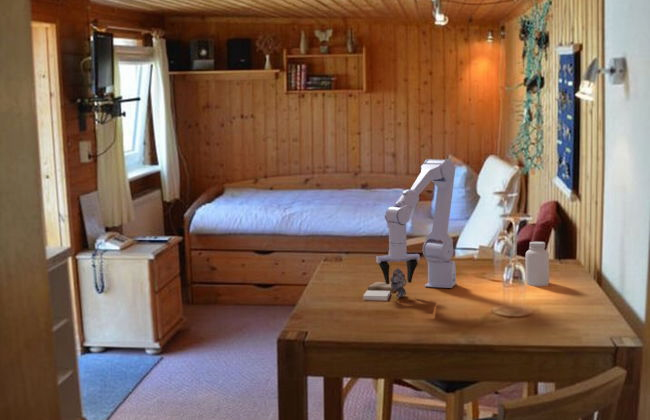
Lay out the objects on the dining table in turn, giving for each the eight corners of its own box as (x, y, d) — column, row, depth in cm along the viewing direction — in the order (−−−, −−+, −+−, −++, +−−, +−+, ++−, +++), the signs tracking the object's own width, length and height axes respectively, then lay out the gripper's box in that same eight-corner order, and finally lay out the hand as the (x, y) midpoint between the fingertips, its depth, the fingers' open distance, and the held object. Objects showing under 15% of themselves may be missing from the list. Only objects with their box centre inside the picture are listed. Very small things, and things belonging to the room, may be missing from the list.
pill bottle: (546, 282, 281) (546, 240, 280) (550, 287, 274) (551, 244, 272) (523, 282, 282) (523, 240, 281) (527, 287, 274) (527, 244, 273)
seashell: (406, 299, 262) (405, 269, 261) (389, 299, 263) (389, 269, 262) (407, 295, 267) (407, 266, 266) (391, 295, 268) (391, 266, 267)
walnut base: (400, 288, 279) (400, 282, 278) (392, 294, 270) (392, 287, 270) (376, 287, 282) (376, 281, 282) (367, 292, 274) (367, 286, 274)
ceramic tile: (390, 295, 269) (390, 290, 269) (387, 300, 261) (387, 296, 261) (367, 294, 270) (367, 290, 270) (363, 300, 263) (363, 295, 262)
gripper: (415, 239, 268) (415, 279, 270) (373, 241, 265) (374, 281, 267) (421, 242, 261) (422, 283, 263) (378, 245, 258) (379, 286, 260)
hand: (398, 282), depth 264 cm, fingers open, 7 cm apart
